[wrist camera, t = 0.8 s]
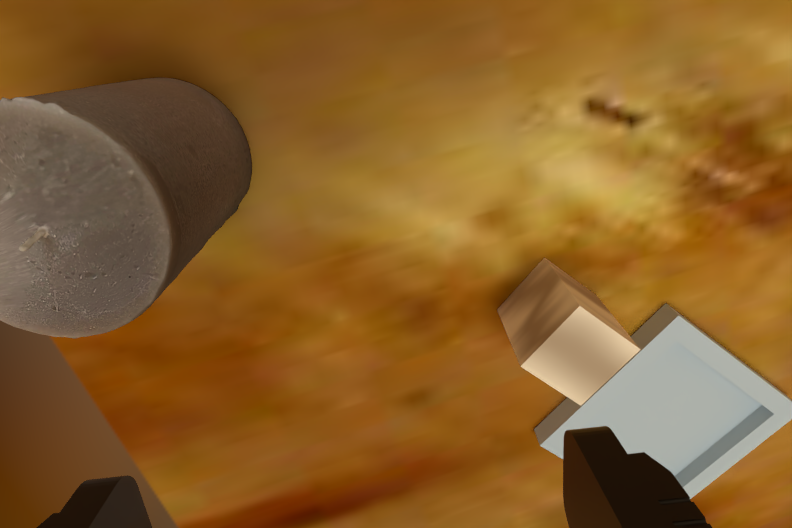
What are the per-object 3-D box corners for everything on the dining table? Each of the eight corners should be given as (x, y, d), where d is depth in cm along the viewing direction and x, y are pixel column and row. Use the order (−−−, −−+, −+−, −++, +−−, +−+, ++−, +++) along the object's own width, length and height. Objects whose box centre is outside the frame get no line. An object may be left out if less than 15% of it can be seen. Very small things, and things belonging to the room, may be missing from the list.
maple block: (544, 257, 36) (579, 305, 29) (596, 295, 37) (640, 349, 31) (496, 309, 37) (520, 366, 31) (547, 344, 39) (580, 405, 32)
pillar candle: (255, 234, 35) (174, 362, 21) (104, 227, 34) (-82, 353, 20) (249, 79, 31) (143, 109, 17) (78, 69, 30) (-172, 91, 17)
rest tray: (665, 302, 37) (678, 315, 36) (786, 395, 41) (803, 410, 39) (533, 429, 42) (540, 445, 40) (653, 502, 45) (663, 520, 44)
